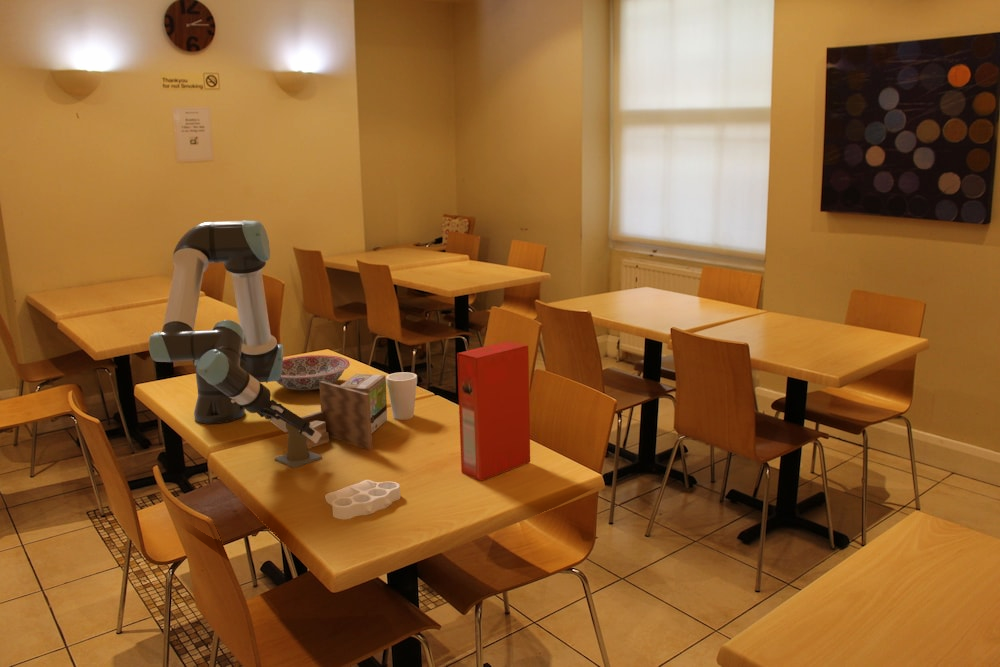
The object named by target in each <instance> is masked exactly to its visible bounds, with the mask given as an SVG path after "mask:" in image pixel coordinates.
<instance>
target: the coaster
mask: <svg viewBox="0 0 1000 667" xmlns="http://www.w3.org/2000/svg"><path fill="white" fill-rule="evenodd" d="M308 452H309V458H307V459H305V460H301V461H290V460H288V459H287V453H285V454H281V455H279V456H276V457H274V460H275V461H276V462H278V463H281V464H284V465H286V466H289V467H291V468H294V469H295V468H298V467H301V466H303V465H306V464H310V463H311V462H312V463H313V462H314V461H319V460H320V459H323V456H322V455H320V454H317V453H315V452H313V451H310V450H308Z"/></svg>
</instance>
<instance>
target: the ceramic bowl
mask: <svg viewBox="0 0 1000 667" xmlns="http://www.w3.org/2000/svg"><path fill="white" fill-rule="evenodd" d="M350 366H351V362H350V361H349V359H347V358H344V357H341V356H338V355H329V354H328V355H327V354H326V355H325V354H315V355H314V354H309V355H299V356H293V357H286V358H283V365H282V374H281V378H280V379H279V380H278V381H275V382H276V383H277V384H279V385H280V386H282V387H284V388H286V389H290V390H292V391H293V390H294V391H313V390H320V388H319V382H320V381H325V382H328V383H332V384H335V382H337V381H338V380H340V378H341V377H342V376H343V373H344V371H346V369H349V367H350Z"/></svg>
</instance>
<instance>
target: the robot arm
mask: <svg viewBox="0 0 1000 667" xmlns="http://www.w3.org/2000/svg"><path fill="white" fill-rule="evenodd" d="M267 233H268V232H267V231H266V228H265V226H264V224H262V222H260V221H258V220H247V219H244V220H233V221H232V220H230V221H229V220H227V221H226V220H225V221H205V222H201V223H198V224H197V225H195V226H193V227H191V229H189V230H188V231H187V232H185V233H184V234H183V236H181V237H180V239H179V240H178V242H177V244H176V245H175V248H174V250H173V253H172V258H171V260H172V264H173V266H174V270H173V274H172V277H171V284H170V289H169V294H168V298H167V299H168V300H167V302H166V303H167V304H166V309H165V314H164V317H163V318H164V319H163V323H162V328H161V331H157V332H152V333H151V335H150V336H149V340H148V350H149V354H150V357H151V358H150V359H152V360H153V361H154V362H157V363H158V362H159V363H164V362H165V363H173V362H184V361H185V362H187V361H194V363H193V365H194V368H195V377H196V378H195V379H196V385H197V398H196V403H195V407H194V412H193V415H194V416H193V417H194V420H195V421H196V422H197V423H199V424H212V425H213V424H224V423H228V422H229V423H230V422H233V421H235V420H236V421H237V420H238V419H241V418H242V417H244V416H245V414H246V412H245V411H247V412H249V413H251V414H258V415H259V416H260V418H265V420H268V421H269V422H271V423H272V424H273V425H275V427H277V428H279V429H280V430H281V431H283V432H284V433H287V434H288V430H287V429H286V423H288V424H290V425H291V426H293V427H295V428H296V429H298V430H300V431H299V434H303V435H305V436H306V437H307V438H309V439H310V440H312V441H313V442H314V443H316V444H317V442H318V440H319V439H320V437H321V436H322V435H321V434H320V433H319V432H318V431H316V430H315V429H314V428H312V427H311V426H310V423H309V422H307V421H305V420H304V419H302V418H301V417H302V416H299V415H297V414H296V413H294V412H292V411H291V410H290V409H288V408H286V407H285V406H283V405H282V404H281V403H278V402H277V401H276V400H274V399H271V396H272V395H271V391H270V389H269V388H268V387H267V386H265V385H264V384H262V383H271V382H272V383H273V382H276V381H278V380H279V379H280V378H281V374H282V365H283V359H284V345H283V344H280V343H278V341H277V338H276V337H275V336H274V335H272V334H271V328H270V322H269V313H268V312H269V311H268V306H267V298H266V292H265V286H264V285H265V284H264V279H263V272H262V270H264V268H265V267H266V265H267V261H269V260H270V259H271V248H270V241H269V237H268V234H267ZM213 263H214V264H215V263H217V264H219V263H223V267H224V270H225V271H226V272H228V273H229V274H230V276H231V280H232V287H233V292H234V298H235V304H236V310H237V317H238V322H236V321H233V320H231V319H224V320H221V321H218V322H216V323H215V324H214V326H213V328H212V329H201V330H194V329H195V324H196V318H197V312H198V306H199V300H200V295H201V289H202V283H203V278H204V272H206V270H208V269H209V265H210V264H213Z"/></svg>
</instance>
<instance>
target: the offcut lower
mask: <svg viewBox="0 0 1000 667" xmlns="http://www.w3.org/2000/svg"><path fill="white" fill-rule="evenodd" d="M321 435H322V436H321V437H320V439H319V440H318V442H317V444H316V443H314V442H313V441H312V440H310V439H309V438H307V437H305V438H306V442H307V447H308V449H311V448H313V447H316V446H320V445H323V444H327V443H329V442H330V439H329V437H330V436H328V432H325V433H323V434H321Z"/></svg>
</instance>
